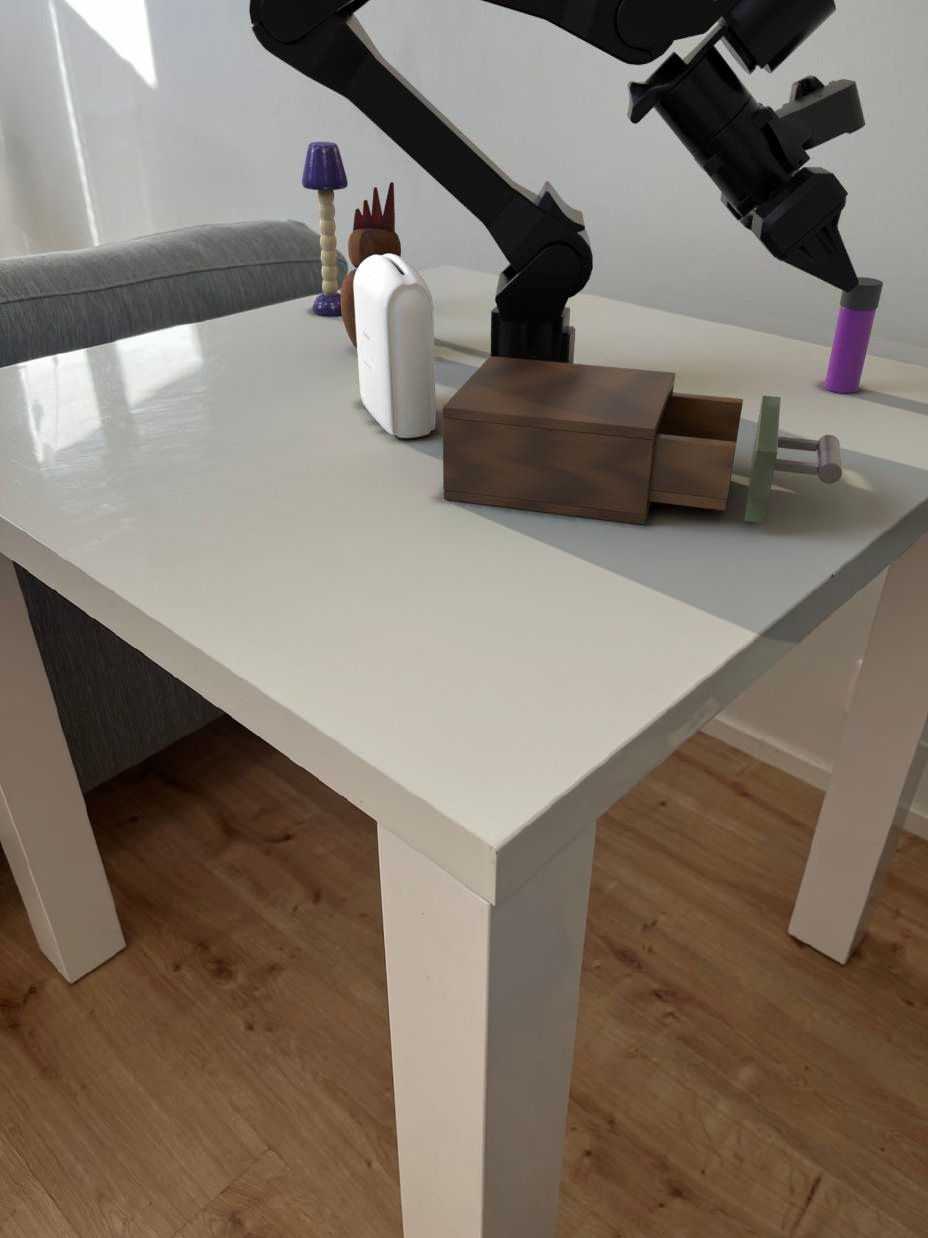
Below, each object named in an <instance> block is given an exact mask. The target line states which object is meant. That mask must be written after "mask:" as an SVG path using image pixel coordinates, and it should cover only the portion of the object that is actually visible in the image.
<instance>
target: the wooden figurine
mask: <svg viewBox="0 0 928 1238" xmlns="http://www.w3.org/2000/svg"><path fill="white" fill-rule="evenodd" d="M362 204H363V205H362V212H361V210H360V208H356V209H355V210H354V217H353V224H352V225H353V226H352V232H351V233H350V234H349V238H348V241H347V254H348V258H349V261H350V263H351V265H352V266H353V267H354V269H351V270H350V271H349V273H348V274H347V275H346V276H345V278H344V279H343V281H342V284H341V287H340V294H341V312H342V315H341V317H342V321H343V325H344V328H345V331H346V333H347V336H348V338H349V340H350V341H351V343H352V344H351V345H353V347H354V348H356V349H357V336H356V320H355V303H354V287H353V285H354V277H355V273H356V271H357V269H358V267H359V266H360V264H361V263H362V262H363V261H364V260H365V259H367V258H368V257H370V256H372V255H384V254H394V255H397V256H399V257H401V258H402V244H401V243H402V242H401V240H400V237H399V235H398V234H397V232H396V212H395V211H396V209H395V183H394V182H393V181H391V182H389V185H388V190H387V195H386V199H385V205H384V208H383V211H382V206H381V205H382V204H381V199H380V195H379V190H378V187H376V186H375V187H373V190H372V203H371V209H370V205H369V202H368V199H364V200H363V202H362Z"/></svg>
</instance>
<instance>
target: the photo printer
mask: <svg viewBox="0 0 928 1238" xmlns="http://www.w3.org/2000/svg"><path fill="white" fill-rule="evenodd" d="M356 269H357V268H356ZM353 287H354V303H355V320H356V336H357V348H356V349H357V351H356V353H357V364H358V365H357V366H358V379H359V392H360V398H361V401H362V405H363V406H364V407H365V408H366V411H368V412H369V414H370V415H371V416H372V417H373V418H374V420H375V421H376V422H377V423H378V424H379V425H380V426H381V427H382V428H383V429H384V430H385V431H386V432H387V433H388V434H390V435H391V436H396V437H397V438H400V439H413V438H420V437H424V436H427V435H430V433H431V431H434V430H435V429H436V425H437V409H436V408H437V407H436V406H437V405H436V368H435V366H436V365H435V363H436V362H435V323H434V322H435V321H434V320H435V315H434V301H433V296H432V294H431V290H430V288H429V286H428V284H427V282H426V281H425V279H424V278H423V276H422V275H421V274H420V272H419V271H418V270H417V269H416V267H414V266H413V265H412V264H411V263H410V262H409V261H408V260H406V259H404V258H403V257H402V256H401V257H399V256H397V255H394V254H384V255H372V256H370V257H368V258H367V259H365V260H364V261H363V262H362V263H361V264H360V266H359V267H358V269H357V271H356V273H355V277H354V285H353Z"/></svg>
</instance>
